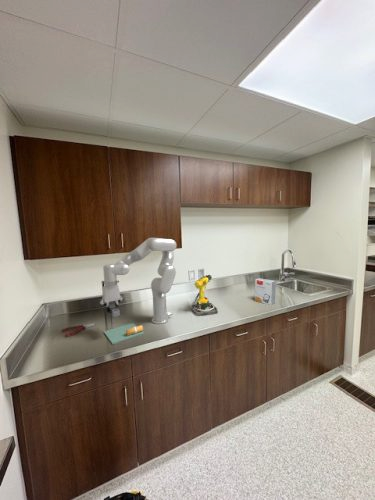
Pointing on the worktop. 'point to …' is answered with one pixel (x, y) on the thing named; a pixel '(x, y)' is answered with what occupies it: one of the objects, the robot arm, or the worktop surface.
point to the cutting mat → (124, 333)
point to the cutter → (114, 310)
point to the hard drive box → (265, 291)
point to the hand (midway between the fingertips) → (112, 311)
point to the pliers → (79, 328)
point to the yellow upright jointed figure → (203, 298)
